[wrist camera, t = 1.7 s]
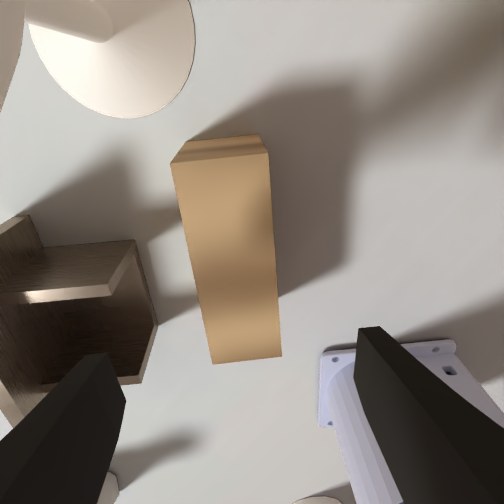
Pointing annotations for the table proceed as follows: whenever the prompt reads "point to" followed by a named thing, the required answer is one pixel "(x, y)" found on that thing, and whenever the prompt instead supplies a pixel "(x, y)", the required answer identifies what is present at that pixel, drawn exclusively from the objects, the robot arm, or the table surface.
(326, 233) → the table surface
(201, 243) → the wooden block
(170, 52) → the champagne flute
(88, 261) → the bracket
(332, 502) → the foam cup
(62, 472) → the robot arm
